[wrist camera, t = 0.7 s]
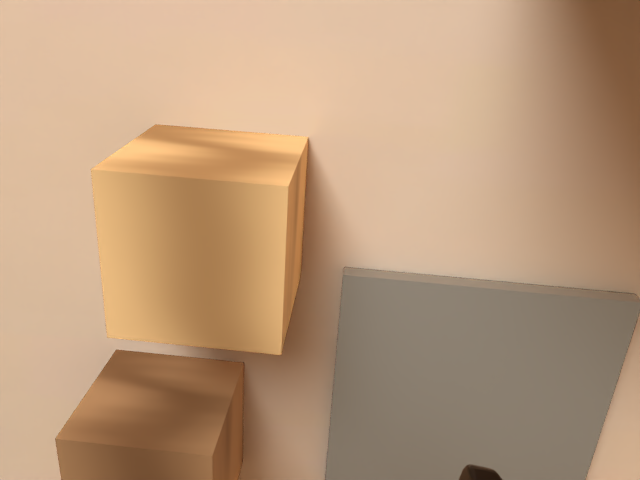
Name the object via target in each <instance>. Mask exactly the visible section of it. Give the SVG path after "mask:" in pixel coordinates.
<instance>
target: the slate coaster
mask: <svg viewBox="0 0 640 480" xmlns="http://www.w3.org/2000/svg"><path fill="white" fill-rule="evenodd" d="M639 313H640V299H639V298H638V296H637V295H636V294H630V293H619V292H608V291H597V290H587V289H576V288H565V287H554V286H543V285H533V284H522V283H511V282H500V281H489V280H479V279H468V278H457V277H446V276H435V275H425V274H414V273H403V272H392V271H382V270H371V269H360V268H349V267H344V271H343V282H342V293H341V305H340V316H339V328H338V339H337V350H336V362H335V373H334V384H333V396H332V407H331V418H330V430H329V441H328V452H327V464H326V475H325V480H459V477H460V475H461V472H462V470H463V469H464V467H465V466H466V465H469V464H473V465H477V466H482V467H487V468H491V469H493V470H495V471H496V472H497V473H498V474H499V475H500V477H501V478H502V479H503V480H586V477H587V474H588V470H589V467H590V464H591V461H592V458H593V455H594V452H595V449H596V446H597V443H598V440H599V436H600V433H601V430H602V427H603V424H604V421H605V418H606V415H607V412H608V409H609V406H610V403H611V399H612V396H613V393H614V390H615V387H616V384H617V381H618V378H619V375H620V372H621V369H622V366H623V362H624V359H625V356H626V353H627V350H628V347H629V344H630V341H631V338H632V335H633V332H634V328H635V325H636V322H637V319H638V316H639Z"/></svg>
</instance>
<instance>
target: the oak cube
mask: <svg viewBox="0 0 640 480" xmlns="http://www.w3.org/2000/svg"><path fill="white" fill-rule="evenodd" d="M307 154H308V137H302V136H290V135H278V134H266V133H253V132H241V131H229V130H217V129H204V128H192V127H180V126H168V125H154V126H153V127H151V128H150V129H148V130H147V131H146V132H144V133H143V134H141V135H140V136H138V137H137V138H135V139H134V140H133V141H131V142H130V143H128V144H127V145H125V146H124V147H122V148H121V149H120V150H118V151H117V152H115V153H114V154H112V155H111V156H109V157H108V158H107V159H105V160H104V161H102V162H101V163H99V164H98V165H96V166H95V167H94V168H92V169H91V176H92V186H93V197H94V207H95V217H96V228H97V238H98V248H99V258H100V269H101V279H102V289H103V300H104V310H105V320H106V330H107V338H116V339H126V340H136V341H146V342H156V343H166V344H176V345H186V346H196V347H206V348H216V349H226V350H235V351H245V352H255V353H265V354H275V355H281V354H282V350H283V346H284V341H285V337H286V333H287V329H288V325H289V321H290V317H291V313H292V309H293V305H294V301H295V297H296V293H297V289H298V285H299V280H300V276H301V263H302V245H303V227H304V208H305V190H306V172H307Z"/></svg>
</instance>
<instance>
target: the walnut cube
mask: <svg viewBox="0 0 640 480" xmlns="http://www.w3.org/2000/svg"><path fill="white" fill-rule="evenodd" d="M243 389H244V363H243V362H233V361H224V360H214V359H204V358H194V357H184V356H174V355H164V354H154V353H144V352H134V351H124V350H116V351H115V352H114V354H113V355H112V357H111V358H110V360H109V361H108V363H107V364H106V366H105V367H104V368H103V370H102V371H101V373H100V374H99V376H98V377H97V379H96V380H95V382H94V383H93V384H92V386H91V387H90V389H89V390H88V392H87V393H86V395H85V396H84V398H83V399H82V401H81V402H80V403H79V405H78V406H77V408H76V409H75V411H74V412H73V414H72V415H71V417H70V418H69V419H68V421H67V422H66V424H65V425H64V427H63V428H62V430H61V431H60V433H59V434H58V436H57V437H56V438H55V440H56V447H57V454H58V460H59V467H60V474H61V480H238V477H239V473H240V469H241V466H242V462H243Z"/></svg>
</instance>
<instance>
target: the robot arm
mask: <svg viewBox="0 0 640 480" xmlns="http://www.w3.org/2000/svg"><path fill="white" fill-rule="evenodd" d="M459 480H503V479H502V478H501V477H500V475H499V474H498V473H497V472H496V471H495V470H493V469H491V468H487V467H482V466H477V465H473V464H469V465H466V466H465V467H464V469H463V470H462V472H461V475H460V477H459Z"/></svg>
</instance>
